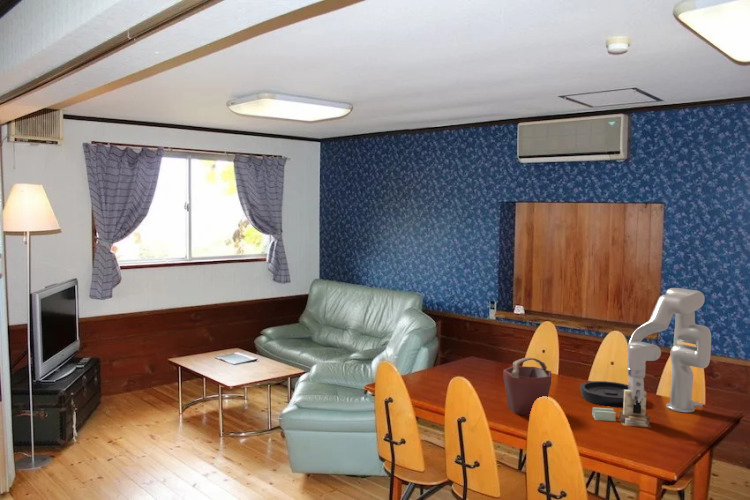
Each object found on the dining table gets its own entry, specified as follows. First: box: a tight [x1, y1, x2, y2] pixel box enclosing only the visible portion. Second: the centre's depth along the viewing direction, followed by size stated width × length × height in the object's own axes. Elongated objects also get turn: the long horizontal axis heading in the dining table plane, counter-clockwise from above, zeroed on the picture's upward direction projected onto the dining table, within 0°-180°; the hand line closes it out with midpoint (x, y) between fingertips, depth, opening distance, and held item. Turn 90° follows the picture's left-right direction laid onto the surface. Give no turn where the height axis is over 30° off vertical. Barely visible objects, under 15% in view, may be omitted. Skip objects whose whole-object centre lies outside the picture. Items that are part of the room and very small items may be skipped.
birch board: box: [622, 390, 648, 416], centre depth 283 cm, size 9×2×14 cm, turn 80°
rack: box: [617, 410, 652, 428], centre depth 282 cm, size 12×10×4 cm
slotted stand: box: [591, 406, 617, 422], centre depth 288 cm, size 9×8×4 cm
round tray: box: [579, 380, 628, 408], centre depth 320 cm, size 30×6×30 cm
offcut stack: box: [625, 416, 649, 428], centre depth 279 cm, size 9×3×3 cm, turn 80°
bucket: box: [502, 357, 552, 417], centre depth 299 cm, size 24×22×25 cm
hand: (634, 409), depth 283 cm, fingers open, 9 cm apart
